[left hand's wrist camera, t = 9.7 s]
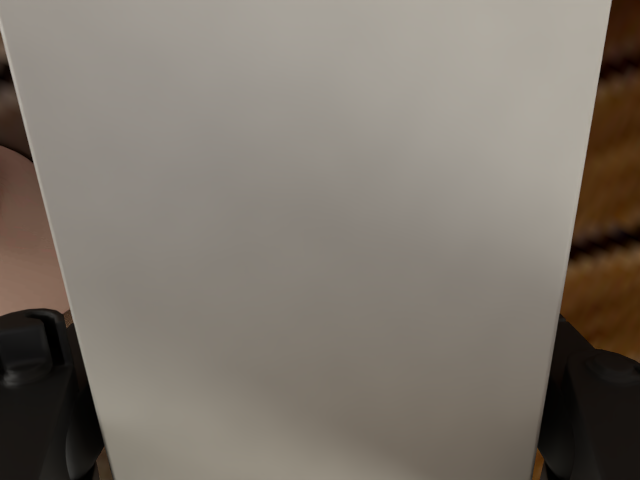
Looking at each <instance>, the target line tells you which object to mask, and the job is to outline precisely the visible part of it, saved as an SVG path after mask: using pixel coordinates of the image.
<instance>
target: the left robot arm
mask: <svg viewBox="0 0 640 480" xmlns="http://www.w3.org/2000/svg"><path fill="white" fill-rule="evenodd" d="M103 447H104V441H103V437H102V433H101V429H100V425H99V421H98V417H97V413H96V409H95V405H94V401H93V397H92V393H91V389H90V385H89V381H88V377H87V373H86V369H85V365H84V361H83V357H82V353H81V349H80V345H79V341H78V337H77V333H76V329H75V325H74V323H72V324H71V325H70V326H69V327H68V328H67V329H66V325H65V320H64V316H63V314H61V313H60V312H58V311H57V310H53V309H47V308H37V309H26V310H21V311H16V312H11V313H8V314H5V315H2V316H0V480H99V473H98V468H97V463H96V459H97V458H98V456H99V454H100V452H101V451H102V449H103ZM537 447H538V449H539V451H540V453H541V454H542V456H543V458H544V463H543V468H542V472H541V477H540V480H640V363H638V362H637V361H635V360H633V359H630V358H628V357H625V356H623V355H621V354H618V353H614V352H610V351H606V350H602V349H595V348H594V347H593V346H592V345H591V344H590V343H589V342H588V341H587V340H586V339H585V338H584V337H583V336H582V335H581V334H580V333H579V332H578V331H577V330H576V329H575V328H574V327H573V326H572V325H571V324H570V323H569V322H566V319H565V318H564V317H563V316H562V315H561V314H560V313H559V319H558V325H557V331H556V337H555V343H554V349H553V355H552V361H551V367H550V373H549V379H548V385H547V391H546V397H545V403H544V409H543V415H542V421H541V427H540V433H539V439H538V445H537Z"/></svg>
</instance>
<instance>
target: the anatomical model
mask: <svg viewBox="0 0 640 480" xmlns="http://www.w3.org/2000/svg"><path fill="white" fill-rule="evenodd" d="M37 308H47V309H53V310H57V311H58V312H60V313H61V314H63V313H65V312H66V311H68V310H69V309H70V305H69V301H68V297H67V293H66V289H65V286H64V282H63V278H62V274H61V270H60V266H59V262H58V258H57V254H56V250H55V246H54V242H53V238H52V234H51V230H50V226H49V222H48V218H47V214H46V210H45V206H44V202H43V198H42V194H41V190H40V186H39V182H38V178H37V174H36V170H35V166H34V164H33V163H32V162H31V161H30V160H28V159H27V158H25V157H24V156H22V155H21V154H19V153H17V152H15V151H12V150H10V149H8V148H5V147H3V146H0V316H2V315H5V314H8V313H11V312H16V311H21V310H26V309H37Z"/></svg>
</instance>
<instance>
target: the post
mask: <svg viewBox="0 0 640 480" xmlns="http://www.w3.org/2000/svg"><path fill="white" fill-rule="evenodd" d="M611 1H612V0H0V31H1V35H2V39H3V43H4V47H5V51H6V55H7V59H8V62H9V66H10V70H11V74H12V78H13V82H14V86H15V90H16V94H17V98H18V102H19V106H20V110H21V114H22V118H23V122H24V126H25V130H26V134H27V138H28V142H29V146H30V150H31V154H32V158H33V162H34V166H35V170H36V174H37V178H38V182H39V186H40V190H41V194H42V198H43V202H44V206H45V210H46V214H47V218H48V222H49V226H50V230H51V234H52V238H53V242H54V246H55V250H56V254H57V258H58V262H59V266H60V270H61V274H62V278H63V282H64V286H65V289H66V293H67V297H68V301H69V305H70V309H71V313H72V317H73V321H74V325H75V329H76V333H77V337H78V341H79V345H80V349H81V353H82V357H83V361H84V365H85V369H86V373H87V377H88V381H89V385H90V389H91V393H92V397H93V401H94V405H95V409H96V413H97V417H98V421H99V425H100V429H101V433H102V437H103V441H104V445H105V449H106V453H107V457H108V461H109V465H110V469H111V473H112V477H113V480H532V475H533V469H534V463H535V457H536V451H537V445H538V439H539V433H540V427H541V421H542V415H543V409H544V403H545V397H546V391H547V385H548V379H549V373H550V367H551V361H552V355H553V349H554V343H555V337H556V331H557V325H558V319H559V313H560V307H561V301H562V295H563V289H564V283H565V277H566V271H567V265H568V259H569V253H570V247H571V241H572V235H573V229H574V223H575V217H576V211H577V205H578V199H579V193H580V187H581V181H582V175H583V169H584V163H585V157H586V151H587V145H588V139H589V133H590V127H591V121H592V115H593V109H594V103H595V97H596V91H597V85H598V79H599V73H600V67H601V61H602V55H603V49H604V43H605V37H606V31H607V25H608V19H609V13H610V7H611Z"/></svg>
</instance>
